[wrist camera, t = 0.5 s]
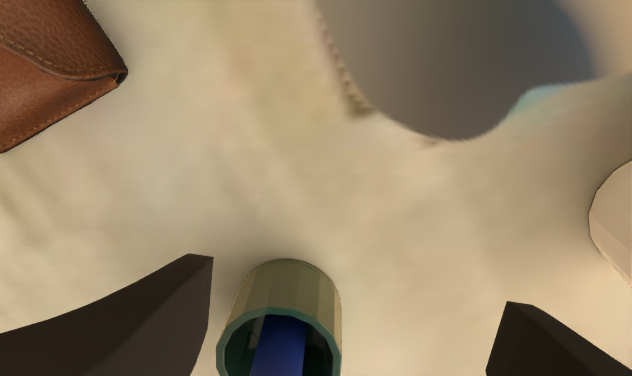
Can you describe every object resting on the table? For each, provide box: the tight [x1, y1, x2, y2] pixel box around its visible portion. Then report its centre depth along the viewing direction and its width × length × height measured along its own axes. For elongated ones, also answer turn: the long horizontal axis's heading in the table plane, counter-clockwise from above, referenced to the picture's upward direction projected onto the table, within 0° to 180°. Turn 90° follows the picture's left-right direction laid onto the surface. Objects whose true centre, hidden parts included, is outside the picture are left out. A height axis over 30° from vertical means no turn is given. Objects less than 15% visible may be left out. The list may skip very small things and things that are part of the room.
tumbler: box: [216, 259, 342, 376], centre depth 21 cm, size 5×5×4 cm
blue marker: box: [249, 314, 307, 376], centre depth 19 cm, size 2×2×8 cm
